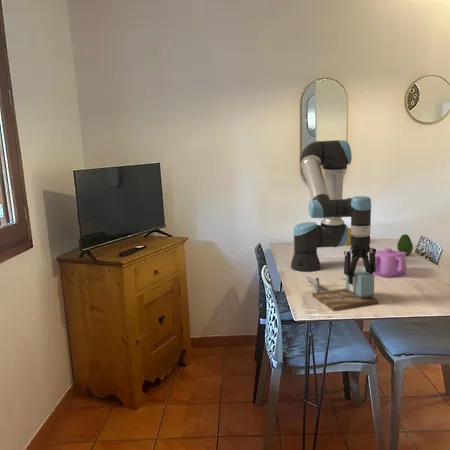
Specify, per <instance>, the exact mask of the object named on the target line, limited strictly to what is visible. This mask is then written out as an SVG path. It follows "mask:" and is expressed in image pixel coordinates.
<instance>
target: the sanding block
mask: <svg viewBox="0 0 450 450" xmlns="http://www.w3.org/2000/svg"><path fill="white" fill-rule="evenodd" d="M353 276H355V292H352V291H350V284H349V283H348V276H347V275H345V288H346V291H348V292H350V293H352V294H353V295H355V296H357V297H359V298H360V299H363V298H369V297H374V298H375V274H371V273H368V272H366V270H365V269H361V268H360V267H358V268H356V269H355V272H354V275H353Z"/></svg>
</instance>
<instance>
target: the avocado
mask: <svg viewBox="0 0 450 450" xmlns="http://www.w3.org/2000/svg"><path fill="white" fill-rule="evenodd" d="M413 245H414V244H413V243H412V240H411V238H410V236H409V235H408V234H406V233H405V234H402V235H401V236H400V238H399V239H398V242H397V245H396V246H397V247H396V249H397V251H399V252H407V253H406V256H409V255H410V254H411V253H412V252H413ZM406 256H405V257H406Z"/></svg>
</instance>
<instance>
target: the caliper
mask: <svg viewBox="0 0 450 450" xmlns="http://www.w3.org/2000/svg"><path fill="white" fill-rule="evenodd" d="M306 280H307V281H308V282H311V283H312V284H313V286H315V291H316V293H317V292H320V279H319V277H315V278H312V277H310V276H306Z"/></svg>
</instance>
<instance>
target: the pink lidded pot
mask: <svg viewBox="0 0 450 450" xmlns="http://www.w3.org/2000/svg"><path fill="white" fill-rule="evenodd" d="M406 253H407V252H399V251H398V250H394V249H392V248H391V247H386V248H384V249H382V250H381V249H380V250H376V253H375V263H376V271H375V272H373V275H374V276H379V277H381V278H384V279H389V278H395V277H400V276H403V275H405V274H406V272H407V268H408V267H407V258H406Z"/></svg>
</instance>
